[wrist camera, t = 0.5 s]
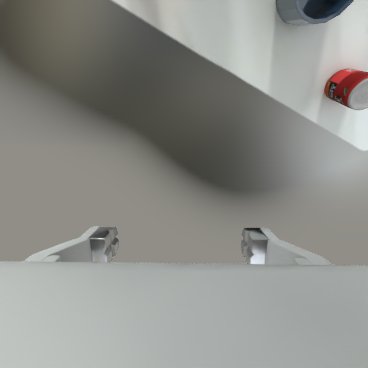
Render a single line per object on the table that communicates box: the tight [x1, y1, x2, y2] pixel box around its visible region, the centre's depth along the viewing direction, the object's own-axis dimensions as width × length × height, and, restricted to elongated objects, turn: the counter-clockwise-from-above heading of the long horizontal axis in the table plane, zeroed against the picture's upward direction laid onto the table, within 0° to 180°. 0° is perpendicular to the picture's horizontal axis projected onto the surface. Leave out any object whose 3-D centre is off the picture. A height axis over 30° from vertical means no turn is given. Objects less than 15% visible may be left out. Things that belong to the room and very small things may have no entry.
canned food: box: [325, 69, 368, 110], centre depth 48 cm, size 8×8×11 cm
